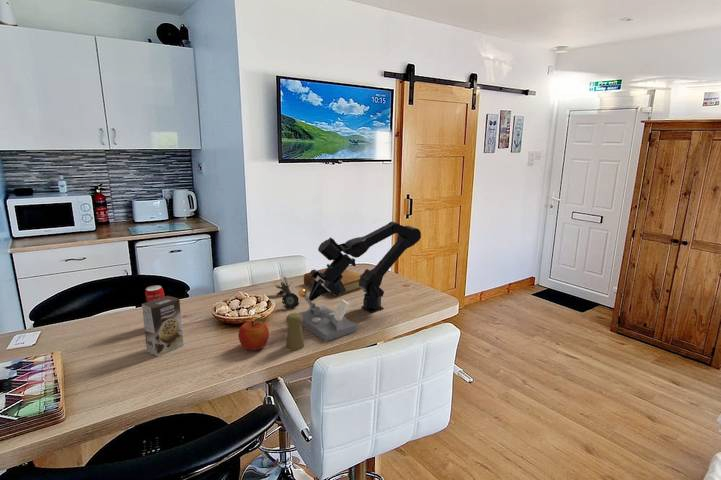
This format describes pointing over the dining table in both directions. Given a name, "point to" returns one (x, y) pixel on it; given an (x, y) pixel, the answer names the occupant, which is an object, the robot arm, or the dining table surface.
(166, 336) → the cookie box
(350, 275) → the diary
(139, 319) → the dining table surface
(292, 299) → the artificial flower
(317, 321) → the switch panel
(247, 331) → the fruit
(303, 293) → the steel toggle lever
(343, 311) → the cream paddle switch
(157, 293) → the beverage can
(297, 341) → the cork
